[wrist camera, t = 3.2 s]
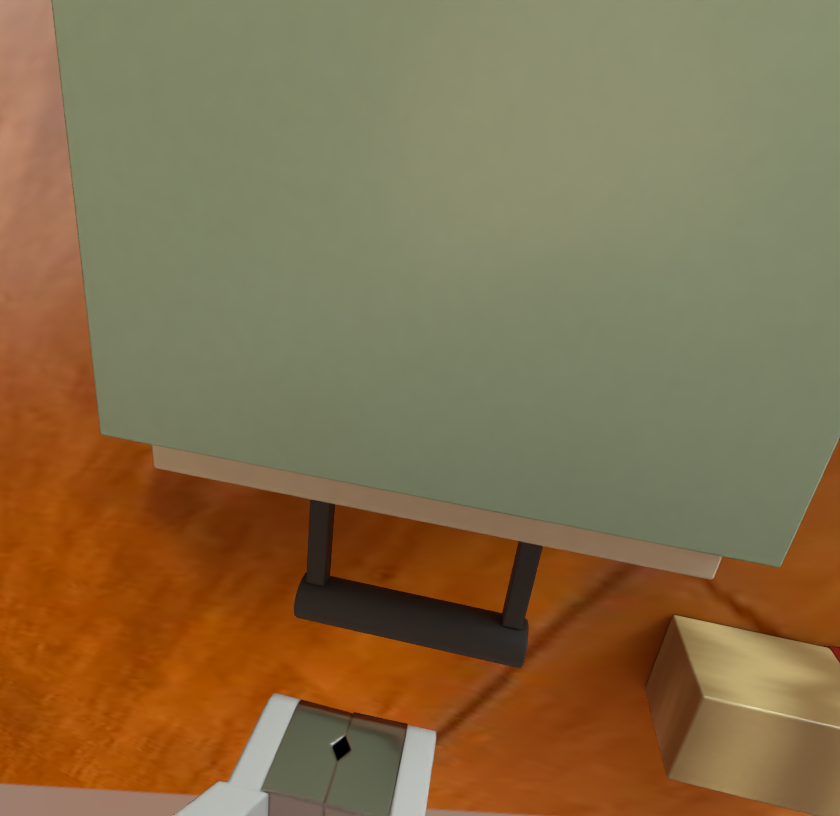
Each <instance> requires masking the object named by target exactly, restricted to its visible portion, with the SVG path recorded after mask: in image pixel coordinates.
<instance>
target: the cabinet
mask: <svg viewBox="0 0 840 816" xmlns="http://www.w3.org/2000/svg"><path fill="white" fill-rule="evenodd" d="M51 1H52V10H53V19H54V27H55V36H56V45H57V54H58V63H59V72H60V80H61V89H62V98H63V107H64V116H65V124H66V133H67V142H68V151H69V160H70V168H71V177H72V186H73V195H74V204H75V213H76V221H77V230H78V239H79V248H80V257H81V265H82V274H83V283H84V292H85V301H86V310H87V318H88V327H89V336H90V345H91V354H92V362H93V371H94V380H95V389H96V398H97V407H98V415H99V424H100V433H101V434H102V435H105V436H110V437H115V438H120V439H125V440H130V441H135V442H140V443H145V444H151V445H156V446H161V447H166V448H171V449H176V450H181V451H186V452H191V453H197V454H202V455H207V456H212V457H217V458H222V459H227V460H232V461H237V462H242V463H248V464H253V465H258V466H263V467H268V468H273V469H278V470H283V471H288V472H294V473H299V474H304V475H309V476H314V477H319V478H324V479H329V480H334V481H339V482H345V483H350V484H355V485H360V486H365V487H370V488H375V489H380V490H385V491H390V492H396V493H401V494H406V495H411V496H416V497H421V498H426V499H431V500H436V501H442V502H447V503H452V504H457V505H462V506H467V507H472V508H477V509H482V510H487V511H493V512H498V513H503V514H508V515H513V516H518V517H523V518H528V519H533V520H538V521H544V522H549V523H554V524H559V525H564V526H569V527H574V528H579V529H584V530H590V531H595V532H600V533H605V534H610V535H615V536H620V537H625V538H630V539H635V540H641V541H646V542H651V543H656V544H661V545H666V546H671V547H676V548H681V549H686V550H692V551H697V552H702V553H707V554H712V555H717V556H722V557H727V558H732V559H738V560H743V561H748V562H753V563H758V564H763V565H768V566H773V567H780V566H781V565H782V563H783V560H784V558H785V556H786V554H787V552H788V549H789V547H790V545H791V543H792V541H793V539H794V536H795V534H796V532H797V530H798V528H799V525H800V523H801V521H802V519H803V517H804V514H805V512H806V510H807V508H808V506H809V504H810V501H811V499H812V497H813V495H814V493H815V490H816V488H817V486H818V484H819V482H820V479H821V477H822V475H823V473H824V471H825V469H826V466H827V464H828V462H829V460H830V458H831V455H832V453H833V451H834V449H835V447H836V444H837V442H838V440H839V438H840V0H51Z"/></svg>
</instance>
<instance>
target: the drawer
mask: <svg viewBox="0 0 840 816" xmlns="http://www.w3.org/2000/svg"><path fill="white" fill-rule="evenodd" d="M152 449H153V462H154V467H155V468H158V469H163V470H168V471H173V472H178V473H183V474H188V475H192V476H197V477H202V478H207V479H212V480H217V481H222V482H227V483H232V484H237V485H242V486H247V487H252V488H257V489H262V490H267V491H272V492H277V493H282V494H287V495H292V496H297V497H302V498H307V499H310V518H309V538H308V558H307V572H306V573H305V575H304V576H303V578H302V580H301V582H300V584H299V587H298V590H297V594H296V598H295V604H294V614H295V616H296V617H297V618H301V619H306V620H310V621H314V622H319V623H323V624H328V625H332V626H336V627H341V628H345V629H350V630H354V631H358V632H363V633H367V634H372V635H376V636H380V637H385V638H389V639H394V640H398V641H402V642H407V643H411V644H416V645H420V646H424V647H429V648H433V649H438V650H442V651H446V652H451V653H455V654H459V655H464V656H468V657H473V658H477V659H481V660H486V661H490V662H495V663H499V664H503V665H508V666H512V667H517V668H521V667H522V665H523V663H524V660H525V655H526V650H527V642H528V620H527V619H526V618H525V616H526V612H527V608H528V604H529V600H530V596H531V592H532V588H533V584H534V579H535V575H536V571H537V567H538V563H539V559H540V555H541V551H542V547H543V546H546V547H551V548H556V549H561V550H566V551H571V552H576V553H581V554H585V555H590V556H595V557H600V558H605V559H610V560H615V561H620V562H625V563H630V564H635V565H640V566H645V567H650V568H655V569H660V570H665V571H670V572H675V573H680V574H685V575H690V576H695V577H700V578H705V579H713V578H714V576H715V574H716V571H717V569H718V566H719V564H720V561H721V559H722V556H717V555H712V554H707V553H702V552H697V551H692V550H686V549H681V548H676V547H671V546H666V545H661V544H656V543H651V542H646V541H641V540H635V539H630V538H625V537H620V536H615V535H610V534H605V533H600V532H595V531H590V530H584V529H579V528H574V527H569V526H564V525H559V524H554V523H549V522H544V521H538V520H533V519H528V518H523V517H518V516H513V515H508V514H503V513H498V512H493V511H487V510H482V509H477V508H472V507H467V506H462V505H457V504H452V503H447V502H442V501H436V500H431V499H426V498H421V497H416V496H411V495H406V494H401V493H396V492H390V491H385V490H380V489H375V488H370V487H365V486H360V485H355V484H350V483H345V482H339V481H334V480H329V479H324V478H319V477H314V476H309V475H304V474H299V473H294V472H288V471H283V470H278V469H273V468H268V467H263V466H258V465H253V464H248V463H242V462H237V461H232V460H227V459H222V458H217V457H212V456H207V455H202V454H197V453H191V452H186V451H181V450H176V449H171V448H166V447H161V446H156V445H152ZM335 504H337V505H342V506H347V507H352V508H357V509H362V510H367V511H372V512H377V513H382V514H386V515H391V516H396V517H401V518H406V519H411V520H416V521H421V522H426V523H431V524H436V525H441V526H446V527H451V528H456V529H461V530H466V531H471V532H476V533H481V534H486V535H491V536H496V537H501V538H506V539H511V540H516V541H519V542H518V546H517V551H516V555H515V559H514V564H513V568H512V573H511V577H510V581H509V586H508V590H507V595H506V599H505V603H504V608H503V612H502V613H498V612H494V611H489V610H485V609H480V608H475V607H471V606H466V605H462V604H457V603H452V602H448V601H443V600H438V599H434V598H429V597H425V596H420V595H415V594H411V593H406V592H402V591H397V590H392V589H388V588H383V587H378V586H374V585H369V584H365V583H360V582H355V581H351V580H346V579H342V578H337V577H332V576H330V567H331V553H332V539H333V525H334V511H335Z"/></svg>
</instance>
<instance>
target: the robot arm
mask: <svg viewBox="0 0 840 816" xmlns="http://www.w3.org/2000/svg"><path fill="white" fill-rule="evenodd" d="M407 726H408V728H407ZM435 743H436V731H433V730H428V729H424V728H419V727H415V726H410V725H408V724H406V723H401V722H397V721H392V720H387V719H383V718H378V717H374V716H369V715H364V714H360V713H355V712H354V713H350V712H347V711H343V710H339V709H335V708H331V707H328V706H324V705H320V704H316V703H312V702H308V701H305V700H301V699H297V698H293V697H289V696H285V695H281V694H277V693H274V694H273V695H272V696H271V697H270V699H269V700H268V701H267V703H266V705H265V707H264V709H263V711H262V713H261V715H260V717H259V719H258V721H257V723H256V725H255V727H254V729H253V731H252V733H251V735H250V737H249V739H248V742H247V744H246V746H245V748H244V750H243V752H242V754H241V756H240V758H239V760H238V762H237V764H236V766H235V768H234V770H233V772H232V774H231V776H230V778H229V780H228V782H223V781H218V782H217V783H215V784H214V785H213V786H211V787H210V788H209V789H207V790H206V791H205V792H203V793H202V794H201V795H199V796H198V797H197V798H195V799H194V800H193V801H192V802H190V803H189V804H188V805H186V806H185V807H184V808H182V809H181V810H180V811H178V812H177V813H176V814H174V815H173V816H425V812H426V806H427V799H428V792H429V785H430V778H431V771H432V764H433V757H434V750H435Z"/></svg>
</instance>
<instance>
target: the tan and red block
mask: <svg viewBox="0 0 840 816" xmlns="http://www.w3.org/2000/svg"><path fill="white" fill-rule="evenodd" d="M645 691H646V695H647V699H648V703H649V707H650V712H651V716H652V720H653V724H654V728H655V732H656V736H657V740H658V744H659V748H660V752H661V756H662V760H663V764H664V768H665V772H666V776H667V778H668V779H671V780H675V781H679V782H683V783H687V784H691V785H695V786H699V787H703V788H707V789H711V790H715V791H719V792H723V793H727V794H731V795H735V796H739V797H743V798H747V799H751V800H755V801H759V802H763V803H767V804H771V805H775V806H779V807H783V808H787V809H791V810H795V811H799V812H803V813H807V814H811V815H815V816H840V648H836V647H832V646H829V647H828V648H826V647H822V646H817V645H812V644H808V643H803V642H799V641H794V640H789V639H785V638H780V637H775V636H771V635H766V634H761V633H757V632H752V631H747V630H743V629H738V628H733V627H729V626H724V625H719V624H715V623H710V622H705V621H701V620H696V619H691V618H687V617H682V616H677V615H673V616H672V619H671V622H670V624H669V627H668V630H667V632H666V635H665V637H664V640H663V643H662V645H661V648H660V651H659V653H658V656H657V658H656V661H655V664H654V666H653V669H652V672H651V674H650V677H649V679H648V682H647V685H646V687H645Z"/></svg>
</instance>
